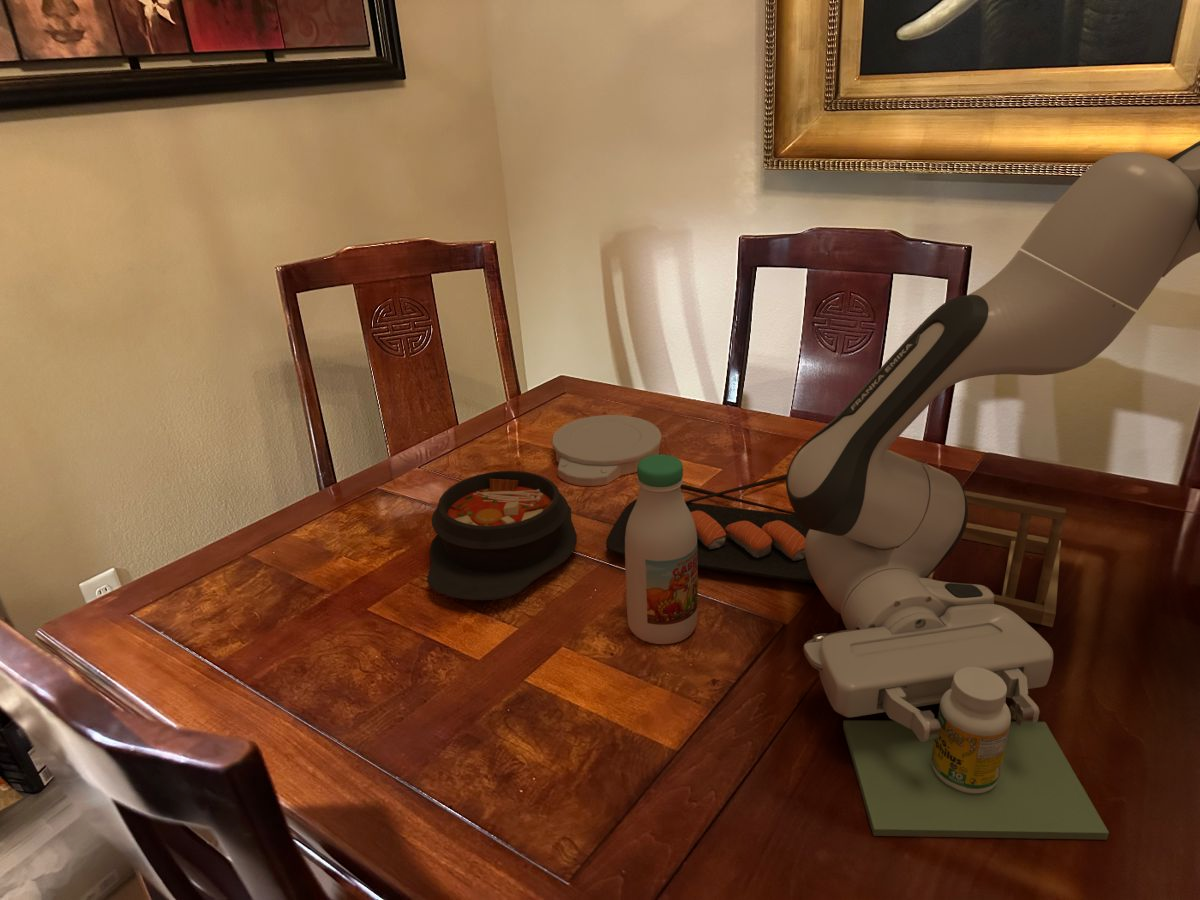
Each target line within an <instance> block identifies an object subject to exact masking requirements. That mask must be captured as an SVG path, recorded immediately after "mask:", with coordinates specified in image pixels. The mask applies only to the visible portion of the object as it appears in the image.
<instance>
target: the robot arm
mask: <svg viewBox="0 0 1200 900" xmlns="http://www.w3.org/2000/svg"><path fill="white" fill-rule="evenodd" d="M1023 250H1024V251H1023ZM1197 254H1200V140H1199V141H1197V142H1195V143H1194V144H1191V145H1190V146H1189V147H1187V148H1185V149H1183V150H1182V151H1180V152H1178V153H1176V154H1175V155H1172V156H1170V157H1168V158H1167V159H1166V158H1163V157H1161V156H1158V155H1155V154H1151V153H1145V152H1135V151H1127V152H1126V151H1125V152H1116V153H1113V154H1110V155H1107V156H1105V157H1102V158H1101V159H1099V160H1097V161H1096V162H1094V163H1093V164H1092V165H1091V166H1089V168H1088V169H1086V171H1084V172H1083V174H1082V175H1080V177H1078V178H1077V180H1076V181H1074V183H1073V184H1072V185H1071V186H1070V187H1069V188H1068V189H1067V190H1066V191H1065V192H1064V193H1063V194H1062V195H1061V196H1060V197H1059V199H1057V200H1056V202H1055V203H1054V204H1053V206H1051V208H1050V209H1049V210H1048V212H1046V214H1045V215H1044V216H1043V217H1042V218H1041V219H1040V221H1039V222H1038V224H1037V225H1036V226H1035V227H1034V228H1033V230H1032V231H1031V232H1030V234H1029V235H1028V236H1027V238H1026V239H1025V240H1024V242H1023V244H1022V245H1021V246H1020V249H1018V250H1017V251H1016V253H1015V255H1014V256H1013V257H1012V258H1011V259H1010V261H1009V262H1008V263H1007V264H1006V265H1005V266H1004V267H1003V268H1002V269H1001V270H1000V271H999V272H998V273H997V274H996V275H995V276H993V277H992V278H991V279H989V280H988V281H987V282H986V283H985V284H983V285H982V286H981V287H979V288H977V289H976V290H974V291H973V292H970V293H969V294H966V295H965V294H964V295H959V296H955V297H952V298H950V299H948V300H947V301H945V302H944V303H943V304H941V305H940V306H939V307H937V308H936V309H935V310H934V311H932V313H930V315H928V316H927V317H926V318H925V319H924V320H923V321H922V322H921V324H919V326H918V327H917V328H916V329H915V330H914V331H913V332H912V333H911V334H910V335H909V336H908V337H907V338H906V340H904V342H903V343H901V345H900V346H899V347H898V348H897V349H896V351H895V352H894V353H893V354H892V355H891V356H890V357H889V358H888V359H887V360H886V362H885V363H884V364H883V365H882V366H881V367H880V368H879V369H878V371H876V372H875V374H874V375H873V376H871V378H870V379H869V380H868V381H867V382H866V384H865V385H864V386H863V387H862V388H861V389H860V390H859V392H858V393H857V394H855V396H854V397H853V398H852V399H851V400H850V401H849V403H848V404H846V406H845V407H844V408H843V409H842V410H841V411H840V412H839V413H838V415H836V416H835V417H834V418H833V419H832V420H831V421H830V422H828V424H826V425H825V426H823V428H821V429H820V430H818V432H816V433H815V434H814V435H812V437H810V438H809V439H808V440H807V441H806V442H804V444H803V445H801V447H800V448H799V449H798V450H797V452H796V453H795V454H794V456H793V457H792V459H791V461H790V463H789V465H788V469H787V472H786V474H787V476H786V480H785V487H786V493H787V498H788V500H789V503H790V506H791V508H792V511H793V512H795V514H796V515H797V517H798V519H799V520H800V522H801V523H802V524H803V525H804V526H805V527H806V528H808V529H809V531H808V533H807V536H806V539H805V556H806V561H807V565H808V568H809V571H810V573H811V575H812V577H813V579H814V581H815V583H816V584H815V583H814V584H815V585H816V586H817V588H818V590H819V591H820V593H821V594H822V596H823V597H824V599H825V600H826V601H827V603H828V605H829V606H830V607H831V608H832V609H833V610H834V611H835V612H836V613H838V614H839V615H840V616H841V620H842V623H843V625H844V627H845V628H846V629H843V630H838V631H835V632H831V633H830V632H829V633H826V632H822V633H817V634H813V636H812V637H811V639H809V640H807V641H806V642H805V643H804V644H803V647H802V651H803V654H804V656H805V659H806V660H807V661H808V663H809V664H810V666H811V667H812V668H814V669H816V670H817V671H818V675H819V679H820V682H821V686H822V688H823V691H824V693H825V695H826V697H827V700H828V702H829V704H830V706H831V708H832V709H833V710H834V712H836V713H837V714H839V715H840V716H843V717H845V718H849V719H850V718H858V717H863V716H869V715H875V714H882V713H885V714H886V715H887V717H888V718H889V719H890V720H891V721H896V722H898V723H900V724H902V725H903V726H905V727H907V728H909V729H912V730H913V732H914V733H915V735H916V736H917V738H918V739H919V740H920V741H921V742H925V741H931V740H936V739H939V737H940V735H939V733H940V731H941V725H940V723H939V721H938V718H935V714H934V713H933V711H932V710H931V709H929V710H920V709H919V708H918V707H926V706H931V705H938V704H940V702H941V698H942V696H943V695H944V693H945V692H946V691H947V690H949V689H950V688H951V685H952V681H953V677H954V674H955V673H956V672H957V671H958V670H959V669H962V668H965V667H979V668H983V669H986V670H989V671H991V672H993V673H995V674H997V675H998V676H999V677H1001V678H1002V679H1003V681H1004V682H1005V684H1006V686H1007V694H1006V699H1010V700H1009V704H1010V705H1009V706H1008V708H1009V710H1010V713H1011V720H1013V721H1015V722H1016V723H1017V724H1018V725H1020V726H1021V725H1027V724H1033V723H1037V722H1039V716H1040V713H1041V712H1040V708H1039V706H1038V704H1037V703H1035V701H1034V700H1033V699H1032V698H1031V697H1030V696H1029V690H1031V689H1036V688H1044V687H1045V686H1047V684H1048V682H1049V679H1050V676H1051V673H1052V670H1053V665H1054V650H1053V648H1052V647H1051V645H1050V643H1048V642H1047V640H1045V638H1043V637H1042V635H1041V634H1040V633H1039V632H1038V631H1036V630H1035V629H1034V627H1032V626H1031V625H1030V624H1029V622H1027V621H1024V620H1023V619H1022V618H1021V617H1019V616H1018V615H1017V614H1015V613H1014V612H1013V611H1011V610H1009V609H1008V608H1005V607H1003V606H1000V605H996V604H994V594H995V593H994V592H992V590H991V589H990V588H989V587H988V586H985V585H982V584H977V583H976V584H974V583H959V582H948V581H942V580H937V579H934V578H933V579H928V578H927V577H928V576H929V575H930V574H931V573H932V572H933V571H934V570H935V569H936V570H937V569H938V568H939V566H940V565H942V563H943V562H944V561H945V560H946V559H947V558H948V557H949V556H950V555H951V554H952V553H953V551H954V550H955V549H956V548H957V546H958V544H959V542H960V541H961V537H962V536H963V533H964V531H965V528H966V525H967V523H968V517H969V505H968V503H967V498H966V495H965V492H964V491H965V490H964V487H963V485H962V483H961V482H960V480H959V479H958V478H957V477H955V475H953V474H952V473H949V472H946V471H944V470H942V469H939V468H937V467H935V466H933V465H930V464H927V463H925V462H922V461H919V460H917V459H915V458H911V457H907V456H904V455H903V454H900V453H897V452H895V451H892V450H890V449H889V448H890V447H891V445H893V443H894V442H895V441H896V440H897V439H898V438H899V437H900V436H901V435H902V434H903V433H904V432H905V431H906V429H908V428H909V427H910V425H911V424H912V423H913V422H914V421H915V420H916V419H917V418H918V417H919V416H920V415H921V414H922V412H924V411H925V409H926V408H927V407H928V406H929V405H930V404H931V403H932V402H933V401H934V400H935V399H936V398H937V397H938V396H939V395H940V394H941V393H942V392H944V391H945V390H947V389H948V388H950V387H952V386H953V385H955V384H958V383H961V382H963V381H967V380H969V379H973V378H979V377H985V376H986V377H987V376H999V375H1014V376H1015V375H1016V376H1019V375H1020V376H1047V375H1056V374H1060V373H1065V372H1068V371H1071V370H1075V369H1078V368H1080V367H1083V366H1085V365H1087V364H1089V363H1090V362H1091V361H1093V360H1095V358H1097V357H1098V356H1099V355H1100V354H1101V353H1103V352H1104V351H1105V350H1106V349H1107V348H1108V347H1109V346H1110V345H1111V344H1112V343H1113V342H1114V341H1115V340H1116V338H1117V337H1118V336H1119V335H1120V334H1121V332H1122V331H1123V330H1124V329H1125V328H1126V326H1127V325H1128V323H1129V322H1130V321H1131V320H1132V318H1133V317H1134V316H1135V315H1136V313H1137V312H1136V311H1139V310H1140V308H1141V307H1142V305H1143V304H1144V303H1145V302H1146V300H1147V299H1148V298H1149V296H1150V295H1151V294H1152V292H1153V291H1154V289H1155V288H1156V286H1157V285H1158V283H1159V282H1160V280H1162V278H1165V277H1166V276H1167V275H1168V274H1169V273H1170V272H1171V271H1172V270H1173V269H1174V268H1176V267H1177V266H1178V265H1179V264H1181V263H1182V262H1184V261H1186V260H1187V259H1188V258H1191V257H1192V256H1194V255H1197ZM1032 255H1033V256H1032ZM1041 260H1042V261H1041ZM1112 298H1113V299H1112ZM1129 307H1130V308H1129ZM1131 308H1132V309H1131ZM1133 309H1134V310H1133ZM1135 310H1136V311H1135ZM936 570H935V571H936Z"/></svg>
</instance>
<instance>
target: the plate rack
mask: <svg viewBox="0 0 1200 900" xmlns="http://www.w3.org/2000/svg"><path fill="white" fill-rule="evenodd" d="M964 492H965V495H966V498H967V504H969V505H973V506H980V507H985V508H989V509H990V508H991V509H996V510H1002V511H1007V512H1013V513H1018V514H1020V517H1019V521H1018V527H1017V531H1013V530H1008V529H1002V528H998V527H997V528H996V527H992V526H987V525H981V524H976V523H971V522H967V525H966V528H965V531H964V533H963V536H962V537H961V539H963V540H966V541H971V542H977V543H981V544H987V545H992V546H996V547H1001V548H1007V549H1009V550H1008V556H1007V561H1006V562H1007V563H1006V568H1005V573H1004V580H1003V585H1002V591H1001V595H1000V594H995V593H993V594H994V604H996V605H1000V606H1003V607H1005V608H1008V609H1009V610H1011V611H1013V612H1014V613H1015V614H1017V615H1018V616H1019V617H1021V618H1022V619H1023V620H1024V621H1025V622H1026V623H1031V624H1034V625H1035V624H1036V625H1040V626H1045V627H1049V628H1053V627H1054V624H1055V619H1056V615H1057V601H1058V590H1059V589H1058V587H1059V574H1060V560H1061V546H1062V540H1061V536H1062V531H1063V526H1064V522H1065V520H1066V519H1065V518H1066V513H1067V509H1066V508H1065V507H1059V506H1055V505H1047V504H1043V503H1035V502H1031V501H1025V500H1019V499H1013V498H1007V497H1003V496H996V495H990V494H985V493H979V492H972V491H968V490H964ZM1032 516H1034V517H1040V518H1044V519H1045V518H1046V519H1051V520H1052V521H1051V526H1050V531H1049V535H1048V537H1044V536H1039V535H1034V534H1029V530H1030V524H1031V520H1032ZM961 539H960V540H961ZM1025 552H1027V553H1032V554H1037V555H1043V556H1044V558H1043V564H1042V567H1041V573H1040V578H1039V581H1038V587H1037V591H1036V595H1035V599H1034V602H1031V601H1026V600H1022V599H1017V598H1016V595H1017V589H1018V583H1019V580H1020V575H1021V571H1022V570H1021V569H1022V565H1023V559H1024V555H1025ZM936 570H937V568H936V569H935V570H934V571H933V572H932V573H931V574H930V575H929V576H928V577H927V578H928V579H933V580H934V576H935V572H936Z"/></svg>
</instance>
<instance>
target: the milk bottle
mask: <svg viewBox="0 0 1200 900" xmlns="http://www.w3.org/2000/svg"><path fill="white" fill-rule="evenodd" d="M636 474H637V481H636V482H637V484H638V486H639V492H638V496H637V498H636V500H637V501H636V504H635V506H634V508H633V510H632V512H631V514H630V516H629V519H628V522H627V527H626V534H625V556H624V565H625V566H624V568H625V570H624V572H625V597H626V619H627V625H628V628H629V629H630V631H631V633H632V634H633V635H634V636H636V638H637V639H640V640H642V641H643V642H647V643H649V644H654V645H672V644H676V643H679V642H681V641H683V640H685V639H687V638H688V637H690V636H691V635H692V633H693V632H694V631H695V629H696V627H697V624H698V599H699V598H698V596H699V595H698V593H699V592H698V588H699V586H698V585H699V583H698V582H699V581H698V580H699V577H698V576H699V573H698V572H699V571H698V570H699V568H698V549H697V533H696V527H695V523H694V520H693V517H692V515H691V513H690V511H689V509H688V507H687V505H686V503H685V501H686V500H685V499H684V496H683V493H682V489H681V487H680V486H681V485H682V484H684V483H683V482H684V479H683V477H684V465H683V462H682V461H681V460H680V459H679V458H678V457H676V456H674V455H670V454H661V453H659V454H657V455H650V456H647V457H645V458H643V459H641V460H640V461H639V462H638V465H637V472H636Z"/></svg>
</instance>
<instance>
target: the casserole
mask: <svg viewBox="0 0 1200 900" xmlns="http://www.w3.org/2000/svg"><path fill="white" fill-rule="evenodd" d="M431 526H432V528H433V531H434V532H435V534H436V535H435V536H434V537H433V539H432V541H431V542H430V547H429V560H430V567H429V569H428V573H427V578H426V582H427V584H428V586H429V588H430V589H432V590H433V591H434V592H437V593H439V594H442V595H445V596H447V597H449V598H450V597H451V598H455V599H460V600H467V601H494V600H499V599H505V598H510V597H512V596H515V595H517V594H519V593H520V592H522V591H523V590H524V589H525V588H527V587H529V585H531V584H532V583H533V582H534V581H535V580H537V579H538V578H540V577H542V576H544V575H545V574H547V573H548V572H550V571H552V570H554V569H556V568H558V567H559V566H560V565H561V564H562V563H564V562H565V561H567V559H568V558H569V557H570V556H571V554H572V553H573V552H574V550H575V548H576V545H577V543H578V534H577V532H576V529H575V526H574V523H573V521H572V508H571V506H570V505H569V503H568V501H567V499H566V498H565V496H564V495H563V494H562V493H560V490H559V488H558V486H557V485H556V484H555V483H554V482H553V481H551V479H549V478H547V477H544V476H542V475H540V474H538V473H533V472H528V471H522V470H521V471H520V470H497V471H492V472H491V471H490V472H485V473H480V474H476V475H474V476H470V477H467V478H465V479H463V480H460V481H458V482H457V483H454V484H453V485H451V486H450V487H449V488H447V489H446V490H445V491H444V492H443V493H442V495H441V496H440V497H439V500H438V502H437V507H436V509H434V511H433V514H432V516H431Z"/></svg>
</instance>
